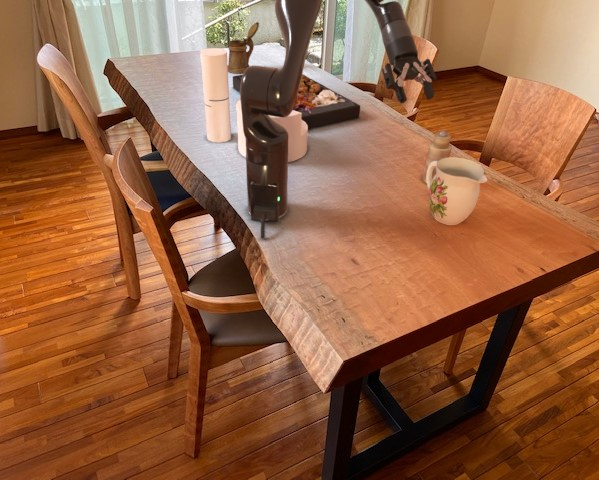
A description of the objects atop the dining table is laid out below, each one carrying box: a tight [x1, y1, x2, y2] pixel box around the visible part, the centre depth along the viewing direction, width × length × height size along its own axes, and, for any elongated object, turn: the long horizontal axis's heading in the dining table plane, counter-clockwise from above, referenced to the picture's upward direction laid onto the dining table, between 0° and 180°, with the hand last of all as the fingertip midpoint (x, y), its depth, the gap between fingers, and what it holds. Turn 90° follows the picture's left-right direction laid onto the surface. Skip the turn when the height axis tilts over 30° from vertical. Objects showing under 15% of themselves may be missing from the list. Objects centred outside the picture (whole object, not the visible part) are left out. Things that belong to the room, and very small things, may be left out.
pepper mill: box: [422, 130, 453, 184], centre depth 128 cm, size 6×6×14 cm
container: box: [235, 98, 309, 163], centre depth 141 cm, size 20×20×13 cm
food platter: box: [232, 73, 361, 131], centre depth 172 cm, size 45×25×10 cm, turn 32°
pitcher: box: [426, 156, 488, 226], centre depth 114 cm, size 11×18×14 cm, turn 24°
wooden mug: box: [227, 21, 260, 74], centre depth 198 cm, size 9×14×18 cm, turn 112°
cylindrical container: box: [199, 47, 232, 144], centre depth 142 cm, size 7×7×25 cm
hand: (417, 100), depth 128 cm, fingers open, 8 cm apart
